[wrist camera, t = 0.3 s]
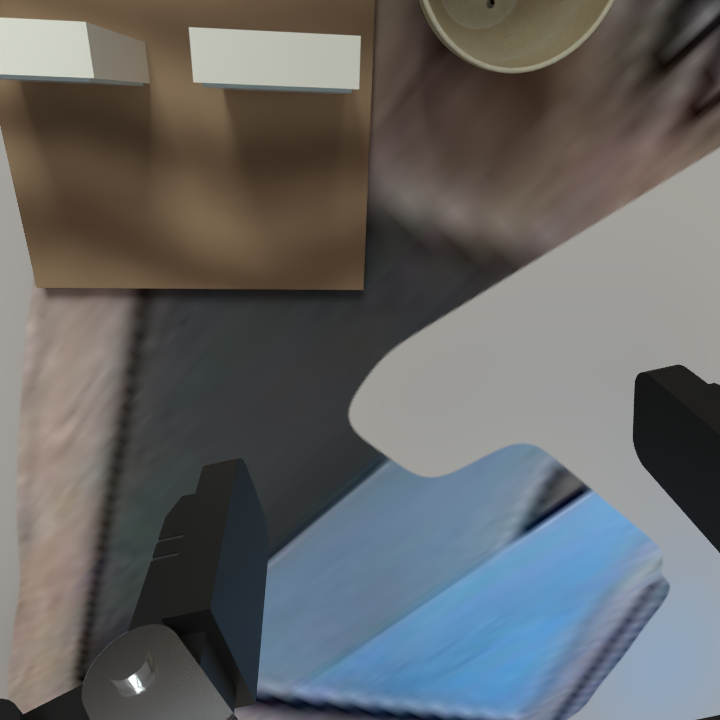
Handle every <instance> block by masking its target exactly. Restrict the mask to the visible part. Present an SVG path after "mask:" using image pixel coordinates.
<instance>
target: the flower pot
mask: <svg viewBox="0 0 720 720" xmlns="http://www.w3.org/2000/svg"><path fill="white" fill-rule="evenodd" d="M493 1H494V5H492V4H491V3H490V0H419V3H420V6H421V8H422V11H423V13H424V16H425V18H426V20H427V22H428V23H429V25H430V27H431V29H432V30H433V32H434V33H435V34H436V36H437V37H438V38H439V40H440V41H441V42H442V43H443V44H444V45H445V46H446V47H447V48H448V49H449V50H450V51H451V52H453V53H454V54H455V55H457V56H458V57H459V58H461V59H463V60H464V61H466V62H468V63H470V64H472V65H474V66H476V67H479V68H482V69H485V70H489V71H494V72H499V73H509V74H511V73H524V72H530V71H534V70H538V69H541V68H544V67H547V66H549V65H552V64H554V63H556V62H558V61H559V60H561V59H562V58H564V57H566V56H567V55H569V54H570V53H571V52H573V51H574V50H575V49H577V48H578V47H579V46H580V45H581V44H582V43H583V42H584V41H585V40H586V39H587V38H588V37H589V36H590V35H591V34H592V33H593V32H594V31H595V29H596V28H597V27H598V26H599V24H600V23H601V22H602V20H603V19H604V17H605V16H606V14H607V13H608V11H609V9H610V8H611V6H612V4H613V2H614V0H493Z"/></svg>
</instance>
